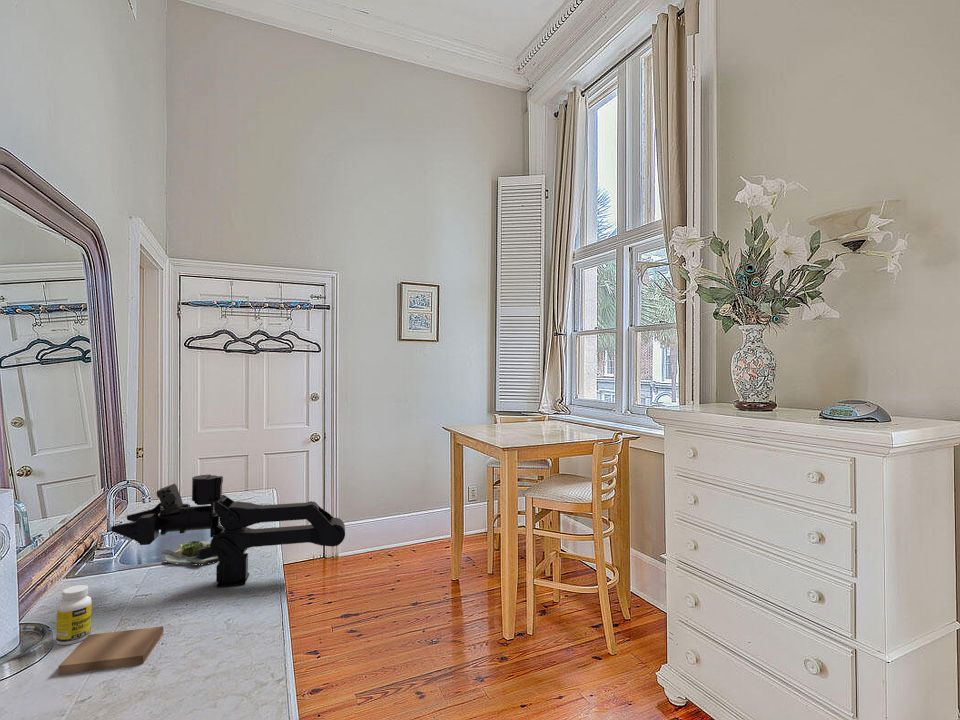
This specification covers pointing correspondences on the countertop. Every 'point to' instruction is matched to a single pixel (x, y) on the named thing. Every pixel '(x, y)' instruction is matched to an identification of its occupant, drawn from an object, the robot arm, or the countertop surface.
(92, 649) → the serving board
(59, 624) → the supplement bottle
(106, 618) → the countertop surface
